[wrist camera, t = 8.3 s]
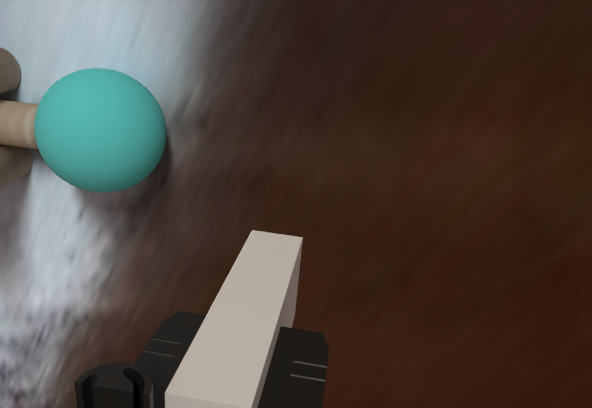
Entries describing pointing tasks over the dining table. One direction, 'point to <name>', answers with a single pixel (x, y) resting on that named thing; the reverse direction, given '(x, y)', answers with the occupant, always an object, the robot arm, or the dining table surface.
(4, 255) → the dining table surface
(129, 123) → the ball
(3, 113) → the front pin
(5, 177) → the pin
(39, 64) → the dining table surface
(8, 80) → the pin
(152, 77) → the dining table surface
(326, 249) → the dining table surface
